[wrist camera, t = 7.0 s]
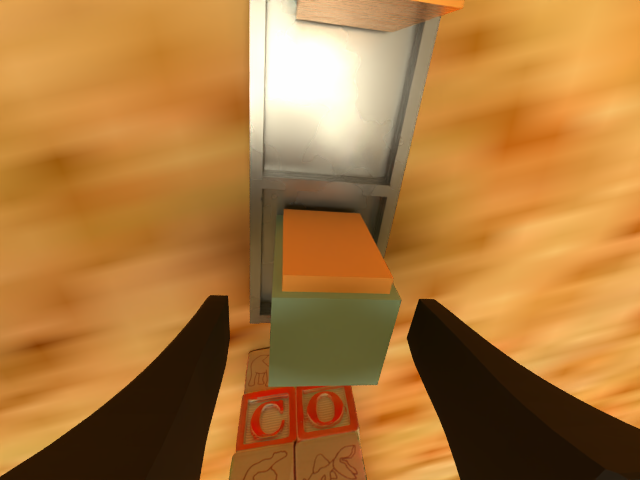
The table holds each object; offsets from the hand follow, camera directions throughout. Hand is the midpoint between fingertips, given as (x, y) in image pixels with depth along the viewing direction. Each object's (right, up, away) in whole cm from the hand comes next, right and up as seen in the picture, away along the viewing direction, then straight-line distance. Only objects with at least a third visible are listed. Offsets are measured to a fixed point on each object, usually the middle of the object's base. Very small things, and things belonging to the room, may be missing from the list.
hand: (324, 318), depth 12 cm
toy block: (0, +2, +4) cm, 5 cm away
